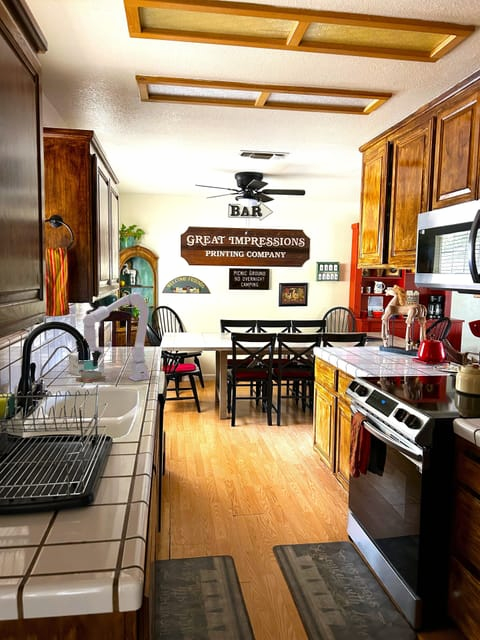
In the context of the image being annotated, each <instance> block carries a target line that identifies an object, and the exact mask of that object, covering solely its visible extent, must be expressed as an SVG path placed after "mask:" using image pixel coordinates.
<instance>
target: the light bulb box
mask: <svg viewBox="0 0 480 640" xmlns="http://www.w3.org/2000/svg"><path fill="white" fill-rule="evenodd" d="M78 353H79V352H73V353H72V352H69V353H68V355H67V356H68V373H69V374H72V375H76V376H81V372H85V371H90V370H84V364H83V361H79V360H78Z"/></svg>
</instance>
